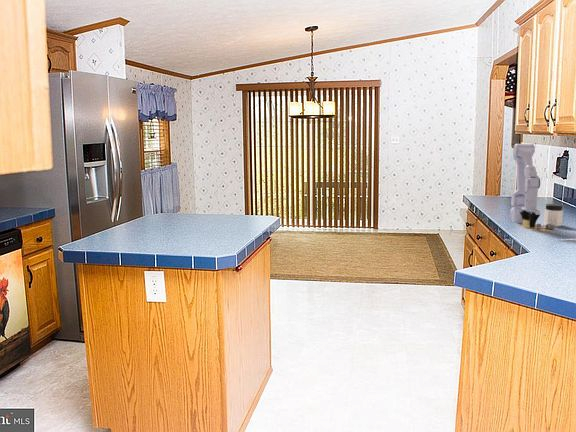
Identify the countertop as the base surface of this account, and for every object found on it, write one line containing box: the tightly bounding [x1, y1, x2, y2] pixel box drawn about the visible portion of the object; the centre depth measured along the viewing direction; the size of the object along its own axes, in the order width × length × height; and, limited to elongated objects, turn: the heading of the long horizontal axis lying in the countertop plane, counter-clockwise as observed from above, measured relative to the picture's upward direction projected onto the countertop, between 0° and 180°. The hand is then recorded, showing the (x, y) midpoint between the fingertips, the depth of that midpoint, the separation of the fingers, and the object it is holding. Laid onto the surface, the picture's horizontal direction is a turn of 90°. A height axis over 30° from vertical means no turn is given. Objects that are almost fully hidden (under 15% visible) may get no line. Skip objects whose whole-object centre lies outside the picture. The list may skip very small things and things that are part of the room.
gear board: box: [519, 223, 559, 232], centre depth 280 cm, size 16×13×4 cm
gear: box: [545, 223, 556, 230], centre depth 277 cm, size 5×5×3 cm
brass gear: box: [521, 219, 535, 229], centre depth 282 cm, size 5×5×4 cm
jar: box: [542, 203, 564, 227], centre depth 290 cm, size 9×8×12 cm
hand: (528, 226), depth 283 cm, fingers closed on brass gear, 5 cm apart
